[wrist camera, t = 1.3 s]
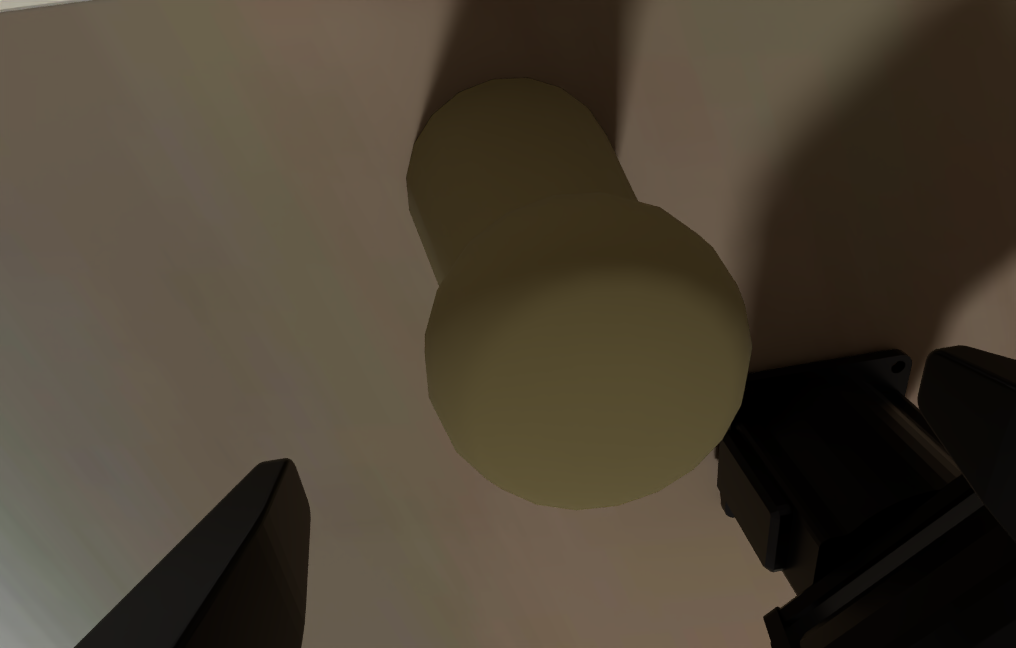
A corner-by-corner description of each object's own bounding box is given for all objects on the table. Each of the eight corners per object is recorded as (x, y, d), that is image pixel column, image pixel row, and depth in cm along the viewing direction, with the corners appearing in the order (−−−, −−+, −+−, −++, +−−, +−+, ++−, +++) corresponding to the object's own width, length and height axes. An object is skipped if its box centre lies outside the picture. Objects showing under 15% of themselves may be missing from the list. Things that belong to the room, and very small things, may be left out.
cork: (413, 63, 17) (409, 187, 7) (635, 91, 18) (889, 233, 8) (400, 276, 20) (383, 570, 10) (592, 290, 21) (745, 569, 11)
